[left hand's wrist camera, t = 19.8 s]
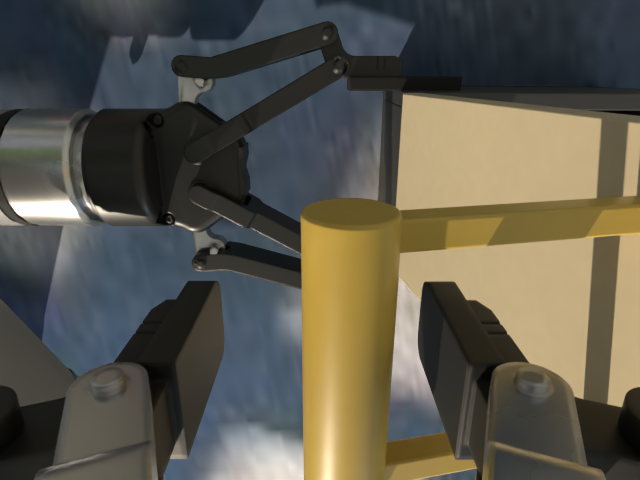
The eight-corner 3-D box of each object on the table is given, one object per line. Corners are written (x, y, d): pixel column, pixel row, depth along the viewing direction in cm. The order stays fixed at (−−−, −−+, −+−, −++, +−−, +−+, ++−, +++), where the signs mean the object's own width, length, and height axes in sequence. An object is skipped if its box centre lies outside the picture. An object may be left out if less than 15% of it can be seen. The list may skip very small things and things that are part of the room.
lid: (834, 135, 8) (327, 152, 6) (674, 540, 11) (322, 628, 9) (421, 92, 23) (246, 94, 22) (407, 267, 27) (256, 281, 25)
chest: (602, 87, 34) (719, 93, 24) (575, 213, 37) (668, 265, 27) (383, 86, 34) (409, 92, 24) (377, 213, 37) (397, 264, 27)
